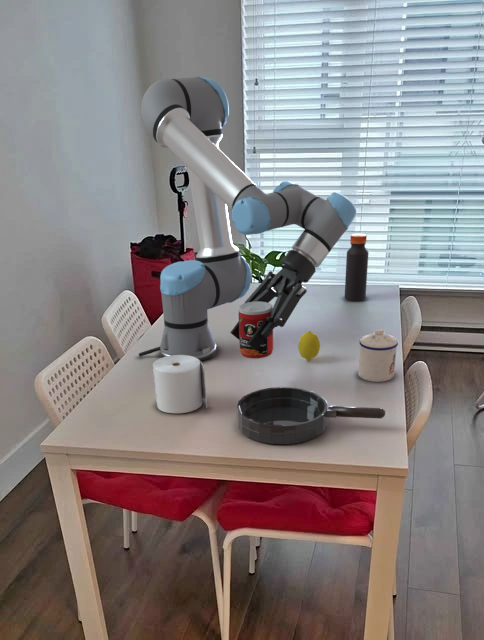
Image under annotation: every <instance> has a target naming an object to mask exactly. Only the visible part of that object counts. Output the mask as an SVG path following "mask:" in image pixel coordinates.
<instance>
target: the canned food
mask: <svg viewBox="0 0 484 640" xmlns="http://www.w3.org/2000/svg"><path fill="white" fill-rule="evenodd" d="M272 309H273V304H271V303H270V302H269V303H267V302H248V303H245V302H244V303H242V304H240V305H239V306H238V309H237V310H238V312H237V313H238V321H239V338H240V340H239V352H240V355H241V356H242V357H245V358H246V359H253V360H255V359H264V358H267V357H269V356H271V355H272V354H273V350H274V329H273V330H272V332H271V333H270V334H269V336H268V337H267V338H266V339H265V340H264V341H263V343H262V344H261V345H260V347H259V348H258V349H257V351H256V350H255V349H254V348H252V347H251V346H250V345H249V344H248V342H249V340H250V339H251V338H252V336H253V335H254V333H255V332H256V331H257V329H258V328H259V327H260V325H261V324H262V323H263V321H264V320H267V319H266V317H269V316H270V314H271V311H272ZM267 321H268V320H267ZM268 322H269V321H268Z"/></svg>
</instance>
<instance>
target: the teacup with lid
mask: <svg viewBox="0 0 484 640" xmlns="http://www.w3.org/2000/svg"><path fill="white" fill-rule="evenodd" d="M358 343H359V357H358V358H359V359H358V373H357V374H358V376H359V378H361V379H362V380H364V381H368V382H373V383H381V382H382V383H383V382H387V381H389V380H392V379H393V378H394V376H395V366H396V357H397V346H398V345H399V343H398V340H397V338H396V337H395V336H393V335H390V334H387V333H386V332H385V331H384V329H382V328H377V329H375V330H374V332H372V333H369V334H365V335H363V336H361V338H360V340H359V342H358Z"/></svg>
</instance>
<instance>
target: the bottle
mask: <svg viewBox="0 0 484 640" xmlns="http://www.w3.org/2000/svg"><path fill="white" fill-rule="evenodd" d="M366 245H367V234H366V233H352V234H350V247H349V248H348V249H347V251H346V257H345V258H346V259H345V261H346V262H345V279H344V280H345V281H344V300H346V301H348V302H362V301H364V300H366V297H367V282H368V267H369V250H368V249H367V247H366Z"/></svg>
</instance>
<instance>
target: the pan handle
mask: <svg viewBox="0 0 484 640" xmlns="http://www.w3.org/2000/svg"><path fill="white" fill-rule="evenodd" d="M385 416H386V410H385V409H384V408H382V407H364V406H340V405H337V404H336V405H335V404H328V408H327V418H329V419H330V418H331V419H332V418H333V419H334V418H335V419H336V418H354V419H355V418H356V419H379V420H380V419H383V418H384V417H385Z"/></svg>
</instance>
